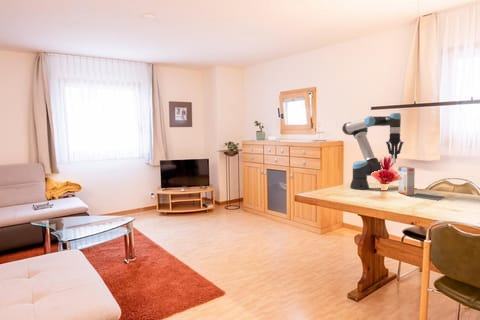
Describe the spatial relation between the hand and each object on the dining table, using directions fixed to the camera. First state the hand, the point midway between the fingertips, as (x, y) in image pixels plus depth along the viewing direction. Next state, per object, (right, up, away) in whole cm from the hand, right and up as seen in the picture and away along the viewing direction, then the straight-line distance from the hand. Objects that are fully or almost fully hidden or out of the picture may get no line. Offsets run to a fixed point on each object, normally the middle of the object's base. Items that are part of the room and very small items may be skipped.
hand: (394, 162), depth 250 cm
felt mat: (+17, -25, -16) cm, 34 cm away
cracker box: (+7, -24, -5) cm, 26 cm away
